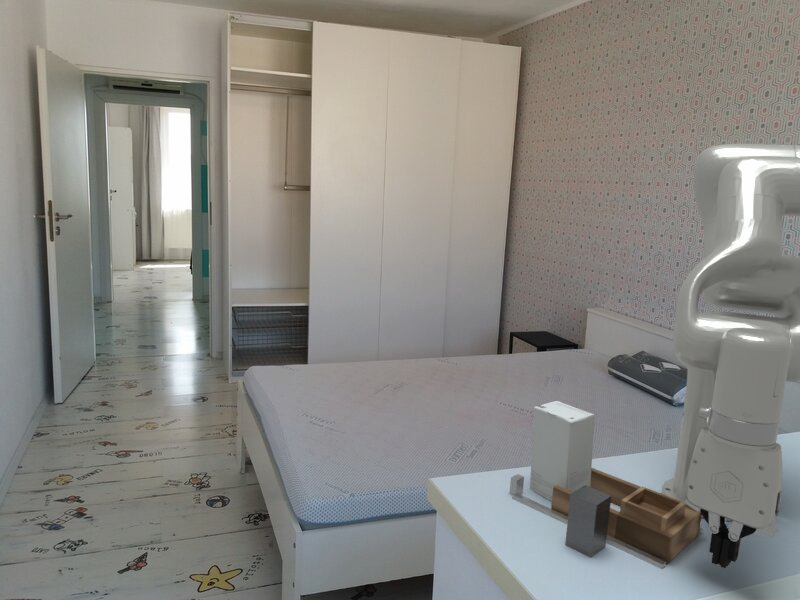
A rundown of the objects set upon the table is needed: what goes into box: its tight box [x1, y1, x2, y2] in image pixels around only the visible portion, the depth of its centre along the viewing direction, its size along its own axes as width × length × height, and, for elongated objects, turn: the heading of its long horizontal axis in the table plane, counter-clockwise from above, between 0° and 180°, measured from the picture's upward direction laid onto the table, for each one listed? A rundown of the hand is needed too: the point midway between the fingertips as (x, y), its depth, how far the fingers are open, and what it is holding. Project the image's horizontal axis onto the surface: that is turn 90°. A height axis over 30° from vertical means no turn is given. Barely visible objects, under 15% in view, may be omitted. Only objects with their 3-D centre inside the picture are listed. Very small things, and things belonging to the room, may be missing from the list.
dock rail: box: [509, 473, 704, 570], centre depth 98 cm, size 14×26×3 cm, turn 44°
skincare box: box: [529, 400, 596, 502], centre depth 103 cm, size 8×6×15 cm
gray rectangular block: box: [565, 485, 612, 558], centre depth 89 cm, size 4×4×8 cm
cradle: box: [550, 467, 702, 566], centre depth 95 cm, size 11×18×6 cm, turn 44°
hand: (722, 561), depth 82 cm, fingers closed
